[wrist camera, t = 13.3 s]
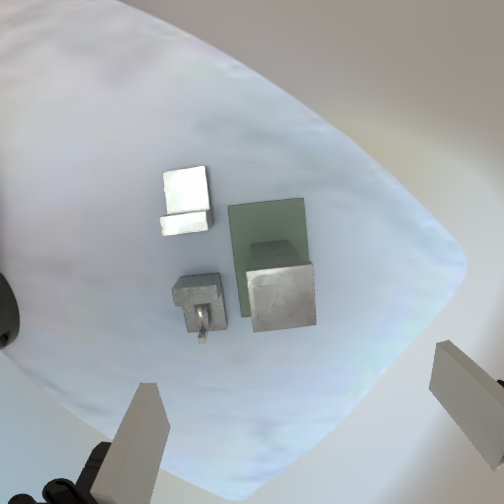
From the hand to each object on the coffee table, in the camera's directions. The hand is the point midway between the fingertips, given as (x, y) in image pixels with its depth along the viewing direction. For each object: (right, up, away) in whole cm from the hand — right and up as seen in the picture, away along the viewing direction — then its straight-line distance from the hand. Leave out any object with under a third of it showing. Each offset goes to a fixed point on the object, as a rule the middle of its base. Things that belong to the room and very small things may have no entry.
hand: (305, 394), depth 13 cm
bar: (0, +5, +26) cm, 27 cm away
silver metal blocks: (-9, +6, +26) cm, 29 cm away
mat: (0, +5, +27) cm, 27 cm away
